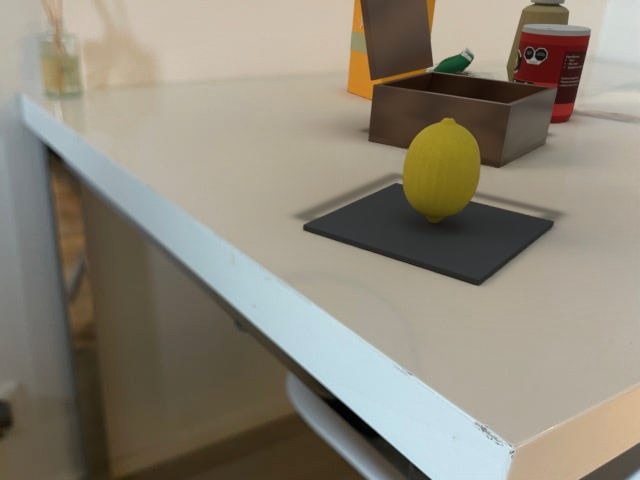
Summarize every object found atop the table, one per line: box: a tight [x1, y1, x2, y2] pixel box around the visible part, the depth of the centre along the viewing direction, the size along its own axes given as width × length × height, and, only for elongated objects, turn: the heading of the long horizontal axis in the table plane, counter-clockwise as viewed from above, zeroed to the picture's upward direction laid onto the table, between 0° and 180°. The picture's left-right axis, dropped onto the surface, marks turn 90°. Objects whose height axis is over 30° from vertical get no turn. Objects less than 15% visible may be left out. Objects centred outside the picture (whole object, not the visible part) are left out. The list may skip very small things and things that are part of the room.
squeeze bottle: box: [506, 0, 570, 82], centre depth 98 cm, size 8×8×18 cm
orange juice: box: [346, 0, 436, 101], centre depth 94 cm, size 8×9×20 cm
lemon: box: [402, 118, 481, 223], centre depth 49 cm, size 6×6×8 cm
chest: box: [367, 70, 557, 169], centre depth 73 cm, size 15×13×6 cm
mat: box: [302, 182, 555, 286], centre depth 51 cm, size 14×14×1 cm
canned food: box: [512, 24, 592, 123], centre depth 85 cm, size 8×8×11 cm
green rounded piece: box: [432, 46, 475, 75], centre depth 115 cm, size 9×4×6 cm
